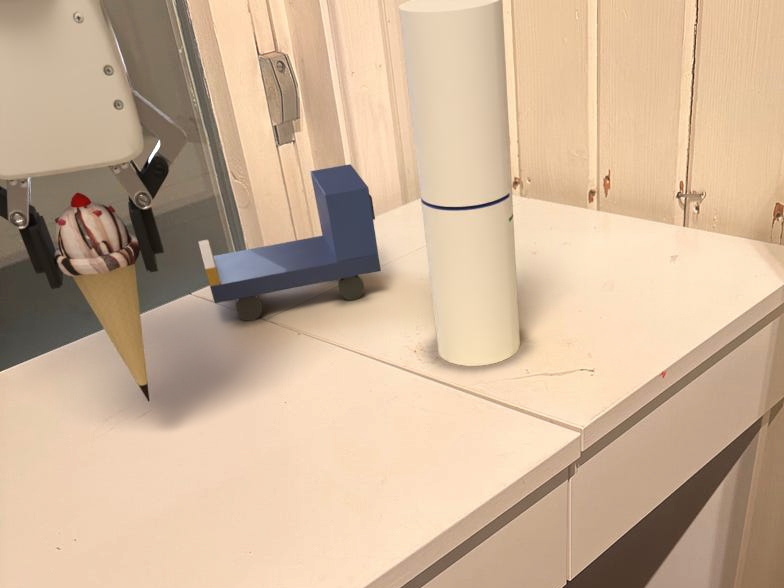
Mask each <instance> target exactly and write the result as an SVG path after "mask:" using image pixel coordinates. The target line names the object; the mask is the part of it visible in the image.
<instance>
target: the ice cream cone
mask: <svg viewBox="0 0 784 588" xmlns="http://www.w3.org/2000/svg"><path fill="white" fill-rule="evenodd" d="M54 222H55V224H56V225H55V240H56V245H57V248H55V250H56V252H55V254H54V259H55V262H56V264H57V265H58V267H59V268H60V270H61V271H62V272H63V275H66V276H67V277H72V278H73V280H74V282H75V283H76V285H77V286H78V288H79V290H80V291H81V293H82V295H83V296H84V298H85V299H86V301H87V303H88V304H89V307H90V308H91V309H92V311H93V313H94V314H95V316H96V317H97V319H98V322H99V323H100V324H101V326H102V328H103V329H104V331H105V333H106V334H107V336H108V338H109V340H110V342H112V344H113V346H114V347H115V349H116V351H117V352H118V354H119V355H120V357H121V359H122V361H123V362H124V364H125V365H126V367H127V368H128V370H129V372H130V373H131V375H132V377H133V378H134V381H135V382H136V383H137V385H138V387H139V388H140V390H141V392H142V393H143V396H144V397H145V398H146V400H147V402H150V393H149V385H148V383H149V382H148V374H147V366H146V357H145V355H146V354H145V345H144V338H143V329H142V320H141V310H140V301H139V292H138V291H139V290H138V282H137V275H136V274H137V273H136V265H135V264H136V262H137V260H138V258H139V256H140V253H141V251H140V248H139V244H138V241H137V238H136V235H135V234H133V233H131V232H129V231H128V228H127V226H126V224H125V223H124V221H123V219H122V218H121V217H120V216H119V215H118V213H116V209H115V208H114V207H113V206H112V205H109V206H107V205H105V204H103V203H100V202H96V201H91V199H90V198H89V197H88V196H87V195H86V194H83V193H81V192H76V193H75V194H73V195H72V198H71V200H70V205H69V206H68V207H67V208H65V209H64V210H63V212H62V213H60V215H59V216H58V217H56V218H55V219H54Z"/></svg>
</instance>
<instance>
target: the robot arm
mask: <svg viewBox="0 0 784 588" xmlns="http://www.w3.org/2000/svg"><path fill="white" fill-rule="evenodd" d="M126 67H127V66H126V64H125V61H124V58H123V55H122V52H121V48H120V47H119V43H118V40H117V37H116V34H115V31H114V29H113V25H112V22H111V20H110V17H109V14H108V12H107V9H106V6H105V4H104V2H103V0H0V180H4V181H6V188H4V187H3V186H1V185H0V217H1V218H3V219H4V220H6V221H8V223H9V225H11V226H12V227H13V228H15V229H17V230H18V231H19V235H20V238H21V240H22V242H23V244H24V247H25V250H26V253H27V255H28V257H29V259H30V262H31V265H32V267H33V270H34V272H35V274H37V275H39V274H45V276H46V279H47V281H48V283H49V287H50V289H51V290H57V289H61V286H64V285H63V284H64V283H63V282H64V273H63V272H62V271H61V270H60V268H59V267H58V265H57V264H56V262H55V259H54V254H55V252H56V247H55V245H54V242H53V239H52V236H51V234H50V231H49V229H48V225H47V223H46V221H45V217H44V216H43V215H40V212H39V211H38V212H37V209H36V207H35V206H34V205H32V203H31V202H32V200H31V199H32V197H31V193H32V192H31V179H32V178H38V177H39V178H40V177H44V176H45V177H46V176H53V175H58V174H67V173H73V172H78V171H85V170H91V169H98V168H99V169H100V168H105V167H109V169H110V170H111V172H112V173H113V175H114V176H115V178H116V179H117V181H118V182H119V183H120V185H121V186H122V188H123V189H124V191H125V192H126V193H127V196H128V201H127V205H128V214H129V218H130V221H131V225H132V228H133V231H134V236H136V238H137V241H138V244H139V248H140V255H141V257H142V260H143V264H144V268H145V270H146V272H149V273H150V274H151V273H156V272H159V269H158V261H157V256H156V255H158V254H164V253H165V249H164V246H163V242H162V239H161V235H160V232H159V228H158V225H157V222H156V218H155V214H154V211H153V207H152V205H153V202H154V201H153V200H154V199H155V197H156V196H157V194H158V192H159V191H160V189H161V187H162V185H163V184H164V182H165V180H166V179H167V177H168V175H169V172H170V170H171V169H172V167H173V165H175V163H176V162H177V160H178V158H179V157H180V156H181V154H182V153H183V151H184V150H185V148H186V146H187V144H188V138H187V134H186V132H185V130H184V129H183V128H182V127H181V126H179V125H178V124H177V123H176V122H174V121H173V120H172V119H171V118H169V117H168V115H166V114H165V113H163V112H162V111H161V110H160V109H158V108H157V107H156V106H155V105H153V104H152V103H151V102H149V101H148V100H147V99H146V98H145V97H143V96H142V95H141V94H140V93H139V92H137V91H136V89H135V90H134V88H133V86H132V83H131V79H130V77H129V73H128V69H127V68H126ZM143 127H144V128H145V129H146V130H147V131H148V132H150V133H152V135H154V137H156V138H157V139H158V142H157V144H156V146H155V148H154V149H153V151H152V152H151V153H150V154H149V156H148V157H147V159H146V161H145V162H144V164H143V165H142V168H141V169H140V168H139V166H138V164H137V163H136V161H135V159H136V158H138V157H139V156H140V155H141V154H142V153H143V151H144V146H145V143H144V142H145V141H144V136H143V135H144V128H143Z"/></svg>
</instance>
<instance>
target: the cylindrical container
mask: <svg viewBox="0 0 784 588" xmlns="http://www.w3.org/2000/svg"><path fill="white" fill-rule="evenodd" d="M398 13H399V20H400V22H399V23H400V28H401V29H400V30H401V38H402V39H401V40H402V48H403V57H404V67H405V74H406V82H407V92H408V93H407V94H408V100H409V108H410V118H411V126H412V134H413V142H414V153H415V161H416V168H417V169H416V170H417V177H418V178H417V179H418V186H419V193H420V202H421V213H422V220H423V228H424V229H423V230H424V238H425V247H426V256H427V264H428V265H427V266H428V273H429V282H430V290H431V298H432V299H431V300H432V306H433V307H432V308H433V316H434V326H435V335H436V342H437V351H438V354H439V356H440V358H442V359H443V360H444V361H445V362H447V363H450V364H454V365H457V366H464V367H479V366H488V365H493V364H497V363H501V362H502V361H505V360H508V359H509V358H511V357H512V356H514V355H515V354H516V353H517V352H518V351H519V349H520V346H521V341H520V340H521V339H520V338H521V337H520V320H519V319H520V317H519V303H518V301H519V299H518V281H517V280H518V279H517V260H516V243H515V241H516V240H515V223H514V220H515V219H514V203H513V183H512V181H513V180H512V165H511V164H512V163H511V141H510V125H509V123H510V122H509V121H510V120H509V103H508V85H507V84H508V82H507V65H506V64H507V63H506V44H505V42H506V41H505V24H504V4H503V0H408V1H405V2H403V3H401V4H399V6H398Z"/></svg>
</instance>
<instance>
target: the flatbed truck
mask: <svg viewBox="0 0 784 588" xmlns="http://www.w3.org/2000/svg"><path fill="white" fill-rule="evenodd" d="M310 176H311V177H310V178H311V182H312V187H313V188H312V189H313V192H314V193H313V194H314V199H315V203H316V209H317V214H318V220H319V224H320V230H321V235H319V236H313V237H308V238H302V239H297V240H292V241H291V240H290V241H286V242H281V243H275V244H269V245H265V246H260V247H254V248H248V249H244V250H238V251H233V252H226V253H223V254H217V255H214V254H213V251H212V247H211V244H210V240H209V239H203V240H199V241H198V246H199V251H200V254H201V258H202V263H203V266H204V269H205V274H206V278H207V281H208V284H209V288H210V291H211V295H212V299H213V302H214V304H219V303H225V302H229V301H234V300H235V309H236V312H237V314H238V316H239V317H240V318H241V319H243V320H245V321H255V320H257V319H259V318H260V317H261V315H262V313H263V304H262V302H261V300H260V298H259V297H258V296H260V295H264V294H265V295H266V294H269V293H275V292H280V291H286V290H290V289H291V290H292V289H296V288H302V287H306V286H310V285H316V284H321V283H326V282H331V281H336V280H338V284H337V286H338V291H339V293H340V295H341V296H342V297H343V298H344V299H346V300H349V301H356V300H357V299H359V298H361V296H362V295H363V293H364V291H365V284H364V281H363V279H362V278H361V277H360V276H362V275H367V274H368V275H369V274H371V273H377V272H381V270H382V269H381V262H380V257H379V249H378V242H377V235H376V229H375V224H374V223H375V222H374V221H375V220H376V215H375V209H374V203H373V197H372V195H371V194H370V189H369V186H368V185H367V184H366V182H365V181H364V179H363V178H362V177H361V176H360V174H359V173H358V172H357V171H356V169H355V168H354V167H353V165H352V164H351V163H350V164H345V165H344V164H343V165H337V166H333V167H332V166H331V167H326V168H320V169H315V170H310Z"/></svg>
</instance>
